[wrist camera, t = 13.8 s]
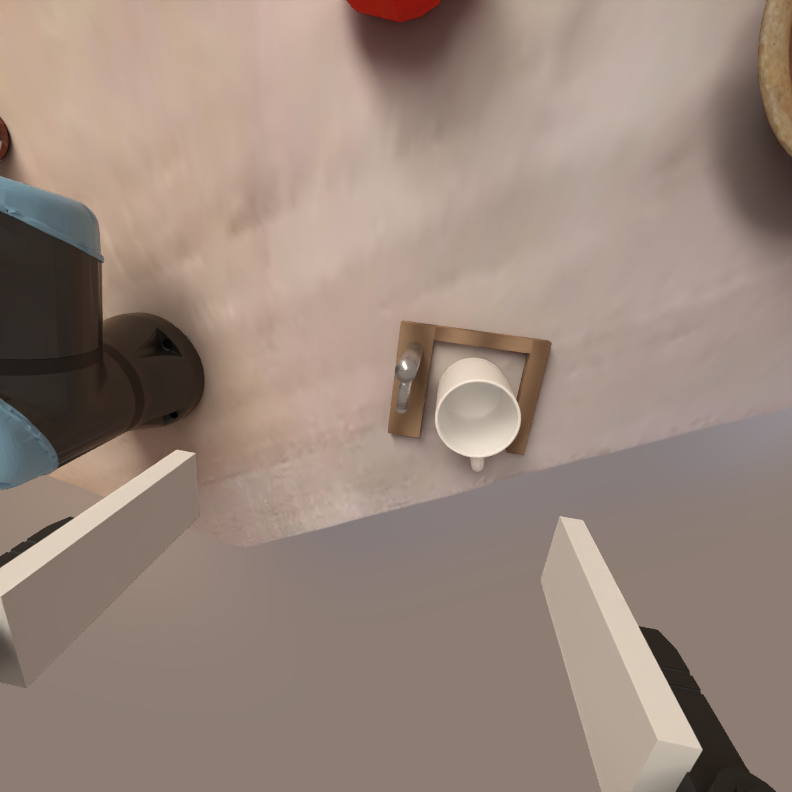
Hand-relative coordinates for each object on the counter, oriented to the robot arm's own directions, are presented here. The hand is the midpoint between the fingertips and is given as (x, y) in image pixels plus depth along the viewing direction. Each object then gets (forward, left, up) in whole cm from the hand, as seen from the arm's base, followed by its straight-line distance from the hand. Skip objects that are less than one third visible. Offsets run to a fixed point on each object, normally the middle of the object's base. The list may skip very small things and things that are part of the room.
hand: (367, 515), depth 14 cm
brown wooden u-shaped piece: (+5, -5, -35) cm, 35 cm away
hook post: (-1, -3, -33) cm, 33 cm away
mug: (+7, -7, -35) cm, 36 cm away
